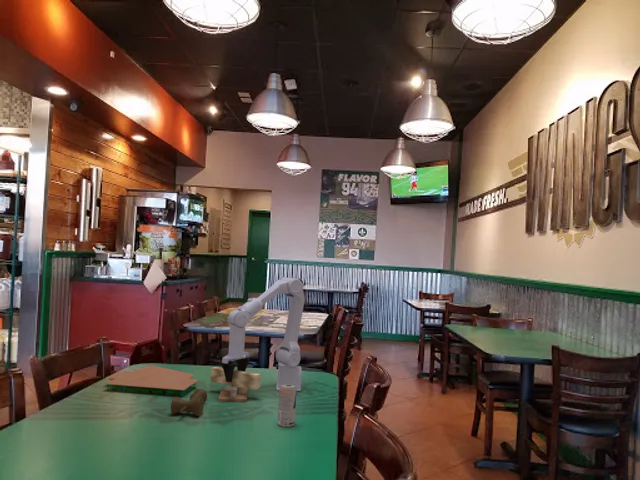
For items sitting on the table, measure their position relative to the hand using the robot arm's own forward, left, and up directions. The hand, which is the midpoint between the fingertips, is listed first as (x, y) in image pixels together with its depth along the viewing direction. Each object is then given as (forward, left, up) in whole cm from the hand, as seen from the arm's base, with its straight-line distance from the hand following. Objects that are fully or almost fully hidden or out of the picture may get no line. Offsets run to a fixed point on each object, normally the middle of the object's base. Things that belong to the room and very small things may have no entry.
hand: (234, 379), depth 182 cm
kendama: (+13, +19, -6) cm, 24 cm away
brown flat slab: (+31, -11, -6) cm, 34 cm away
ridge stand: (0, 0, -6) cm, 6 cm away
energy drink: (-18, +31, -6) cm, 36 cm away
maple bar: (0, 0, -2) cm, 2 cm away
